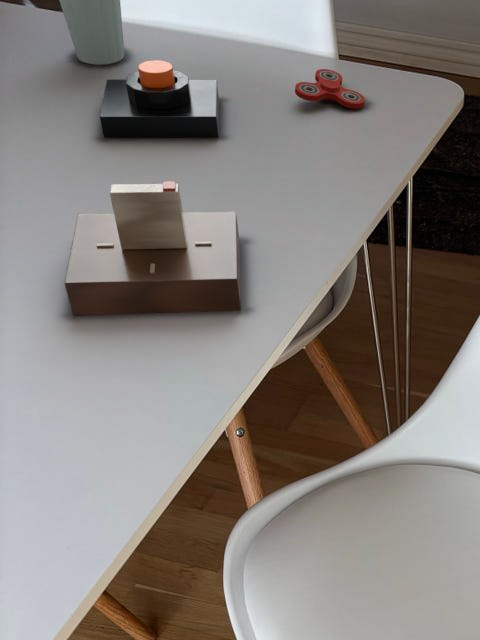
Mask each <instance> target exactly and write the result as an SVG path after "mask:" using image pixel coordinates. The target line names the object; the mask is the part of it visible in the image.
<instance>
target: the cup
mask: <svg viewBox="0 0 480 640" xmlns="http://www.w3.org/2000/svg"><path fill="white" fill-rule="evenodd" d="M58 1H59V4H60V6H61V10H62V13H63V16H64V20H65V23H66V25H67V29H68V32H69V35H70V38H71V41H72V45H73V47H74V52H75V53H76V57H77V59H78V61H81V62H83V63H84V64H87V65H88V64H89V65H96V66H102V65H111V64H115V63H118V62H121V61H122V60H123V59H124V58H125V41H124V30H123V19H122V17H123V16H122V6H121V0H58Z"/></svg>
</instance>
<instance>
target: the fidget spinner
mask: <svg viewBox="0 0 480 640" xmlns="http://www.w3.org/2000/svg"><path fill="white" fill-rule="evenodd" d="M314 75H315V76H314V79H315V81H316V82H308V81H301V82H297V83H296V84H295V86H294V94H295V95H296V96H297V97H299V99H302V100H304V101H308V102H319V101H321V100H324V99H325V100H331V101H332V100H334V101H336V102H337V103H338V104H340V105H341V106H343V107H346V108H348V109H353V110H356V109H362V108H364V106H365V100H366V99H365V96H364V95H363V94H361V93H360V92H358V91H355V90H352V89H348V88H345V87H343V86H342V85H343V76H342V74H340V73H339V72H337V71H335V70H333V69H328V68H320V69H317V70H316V71H315V74H314Z"/></svg>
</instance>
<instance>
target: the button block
mask: <svg viewBox="0 0 480 640" xmlns="http://www.w3.org/2000/svg"><path fill="white" fill-rule="evenodd" d="M173 73H174V79H175V84H174V85H172V86H169V87H164V88H150V87H146V86H142V85H141V82H140V77H139V71H138V70H137V71H135V72H133V73H131V74H130V75H128V76H127V77H126V79H106V81H105V86H104V92H103V97H102V103H101V107H100V108H101V109H100V113H99V120H100V125H101V129H102V134H103V138H104V139H151V138H152V139H153V138H154V139H160V138H161V139H165V138H166V139H168V138H169V139H171V138H172V139H179V138H180V139H183V138H184V139H185V138H189V139H191V138H192V139H194V138H195V139H196V138H197V139H198V138H200V139H201V138H202V139H203V138H205V139H206V138H219V137H220V97H219V89H218V80H217V79H190V78H189V77H188V76H187V75H186V74H184V73H183V72H181V71H179V70H174V69H173Z"/></svg>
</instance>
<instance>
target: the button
mask: <svg viewBox="0 0 480 640" xmlns="http://www.w3.org/2000/svg"><path fill="white" fill-rule="evenodd" d="M173 70H174V67H173V65H172V63H171V62H168V61H165V60H158V59H154V60H146V61H143V62H141V63H139V64H138V65H137V71H139V77H140V82H141V85H142V86H146V87H150V88H164V87H169V86H172V85H174V84H175V79H174V73H173Z"/></svg>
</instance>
